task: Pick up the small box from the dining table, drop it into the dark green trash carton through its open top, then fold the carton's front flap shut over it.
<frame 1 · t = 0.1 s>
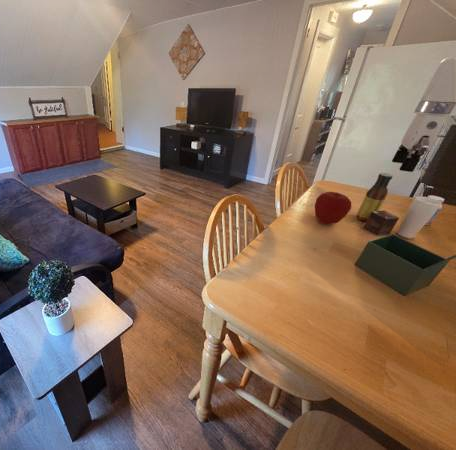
hand: (401, 166, 79), 27 cm above the table, tool pointing down, fingers open, 9 cm apart
bin: (389, 274, 75), on the table
sauce bottle: (363, 219, 104), on the table
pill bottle: (419, 222, 103), on the table
box: (375, 231, 96), on the table
apple: (324, 222, 102), on the table
flap: (453, 257, 61), point 13 cm above the table, hinge at 112.0°
white coffee cup: (404, 235, 94), on the table
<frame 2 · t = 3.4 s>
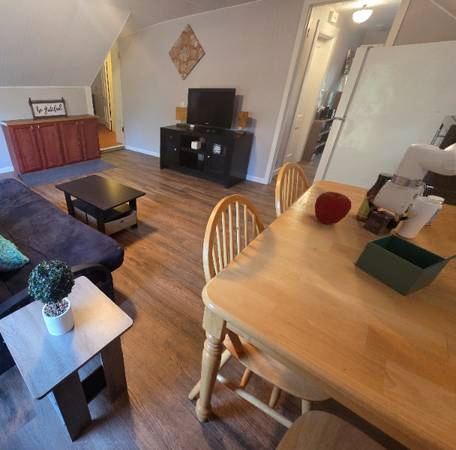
hand: (379, 223, 95), 3 cm above the table, tool pointing down, fingers closed on box, 6 cm apart
box: (375, 231, 96), on the table, touching gripper
everything else where it was.
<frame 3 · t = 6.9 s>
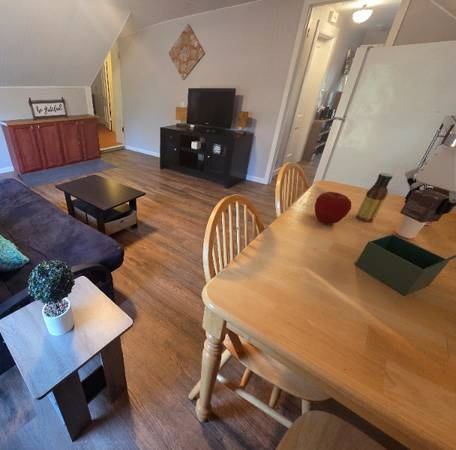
hand: (424, 207, 68), 21 cm above the table, tool pointing down, fingers closed on box, 6 cm apart
box: (417, 217, 70), point 17 cm above the table, touching gripper
everything else where it was.
when the fingers open (8 cm above the table, at t = 10.8 s): box drops 4 cm, resting on bin.
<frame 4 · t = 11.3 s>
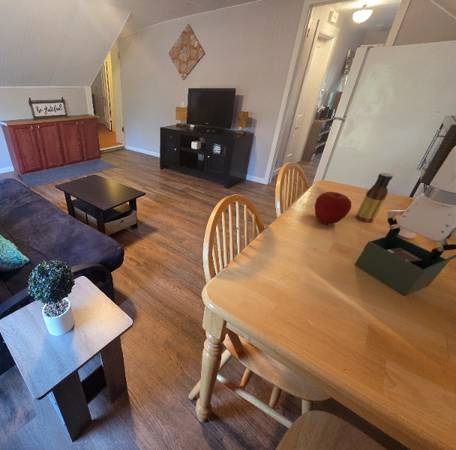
hand: (408, 249, 70), 10 cm above the table, tool pointing down, fingers open, 9 cm apart
box: (390, 273, 75), resting on bin
everything else where it was.
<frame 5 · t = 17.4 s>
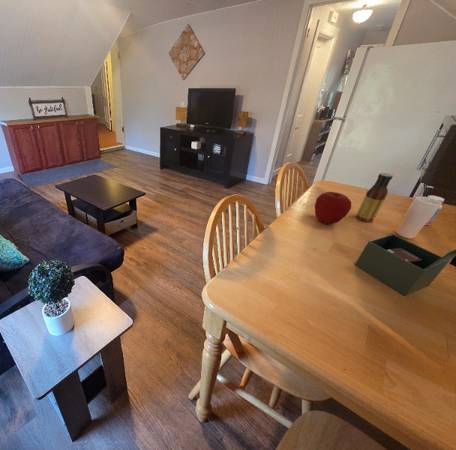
flap: (451, 255, 62), point 13 cm above the table, hinge at 103.3°, touching gripper
everything else where it was.
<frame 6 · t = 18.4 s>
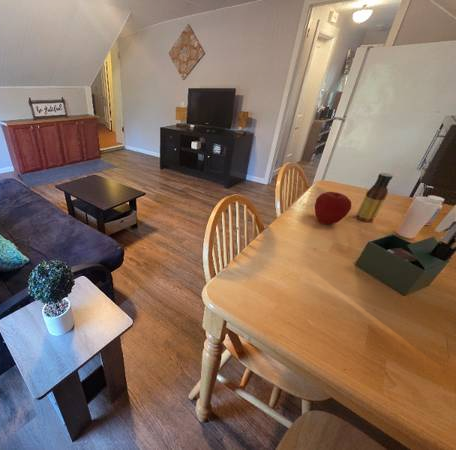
hand: (438, 257, 64), 12 cm above the table, tool pointing down, fingers closed
flap: (429, 251, 66), point 12 cm above the table, hinge at 32.0°
everything else where it was.
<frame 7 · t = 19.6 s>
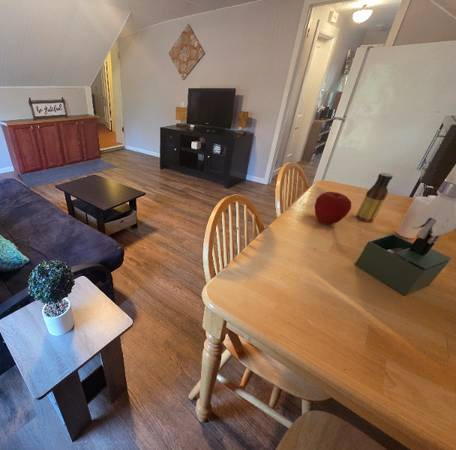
hand: (417, 252, 68), 10 cm above the table, tool pointing down, fingers closed
flap: (423, 255, 67), point 10 cm above the table, hinge at 1.3°
everything else where it was.
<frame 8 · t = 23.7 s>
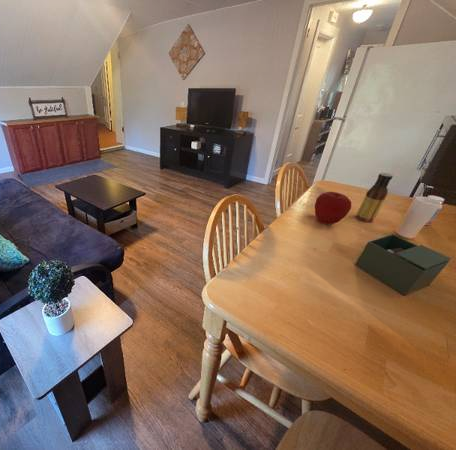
flap: (422, 256, 67), point 10 cm above the table, hinge at -0.6°
everything else where it was.
at the end: box inside the target area in the bin (0.2 cm from its centre), point 0.2 cm above the bin's base; flap at -1° (first picture: +112°) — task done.
